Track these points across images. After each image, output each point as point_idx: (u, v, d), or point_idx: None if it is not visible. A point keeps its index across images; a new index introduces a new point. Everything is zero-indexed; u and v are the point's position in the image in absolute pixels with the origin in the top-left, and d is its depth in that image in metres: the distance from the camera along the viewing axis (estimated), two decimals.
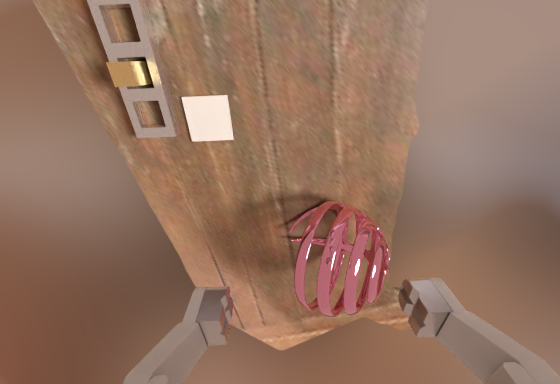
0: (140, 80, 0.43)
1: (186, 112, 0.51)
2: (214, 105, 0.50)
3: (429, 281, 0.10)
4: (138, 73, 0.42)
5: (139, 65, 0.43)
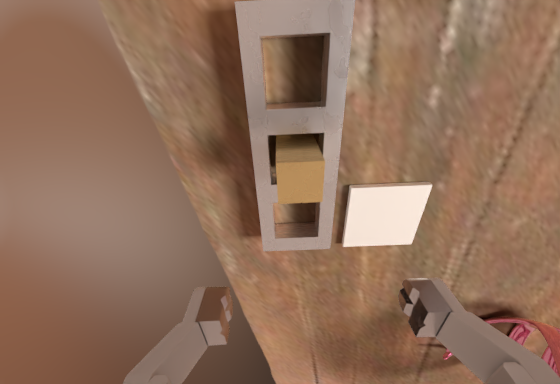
0: None
1: (350, 209, 0.29)
2: (403, 199, 0.29)
3: (429, 280, 0.10)
4: None
5: None
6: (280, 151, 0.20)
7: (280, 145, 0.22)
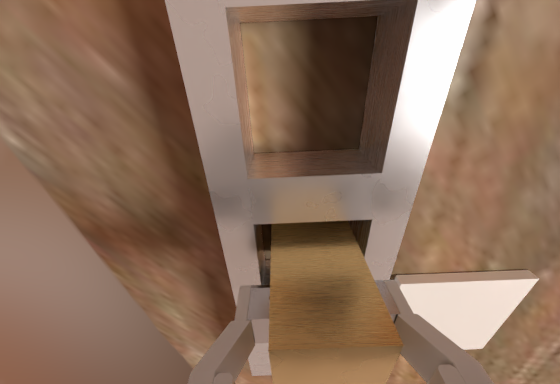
0: None
1: None
2: (485, 297, 0.17)
3: (383, 282, 0.10)
4: None
5: None
6: (280, 278, 0.09)
7: (280, 249, 0.10)
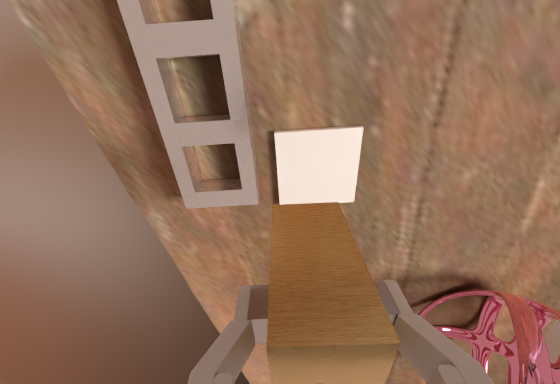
0: None
1: (279, 159, 0.27)
2: (335, 146, 0.26)
3: (383, 282, 0.10)
4: None
5: None
6: (279, 278, 0.09)
7: (280, 249, 0.10)
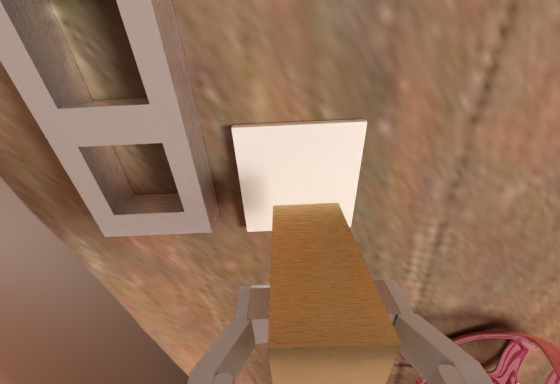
0: None
1: (241, 167, 0.18)
2: (324, 149, 0.17)
3: (383, 282, 0.10)
4: None
5: None
6: (280, 279, 0.09)
7: (280, 250, 0.10)
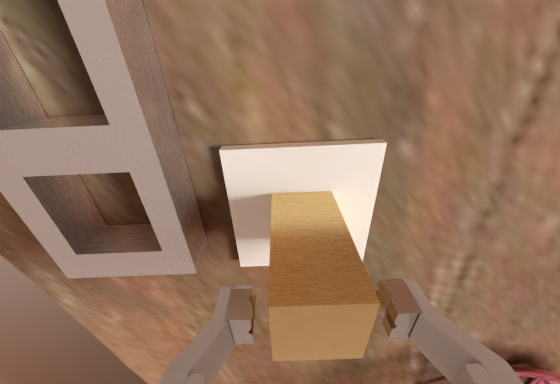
0: None
1: (232, 196, 0.15)
2: (333, 175, 0.14)
3: (403, 282, 0.10)
4: None
5: None
6: (278, 254, 0.10)
7: (279, 230, 0.12)
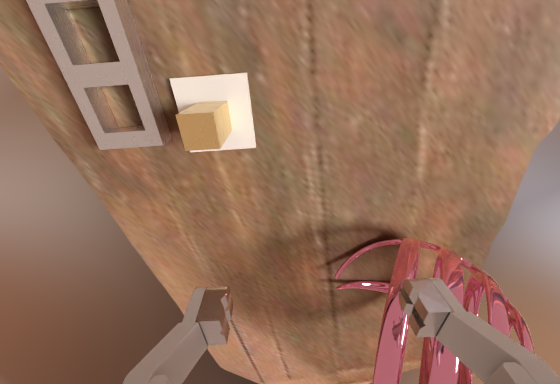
0: (222, 136, 0.27)
1: (179, 105, 0.31)
2: (225, 91, 0.30)
3: (429, 281, 0.10)
4: (220, 127, 0.26)
5: (221, 112, 0.27)
6: (187, 109, 0.26)
7: (192, 107, 0.27)
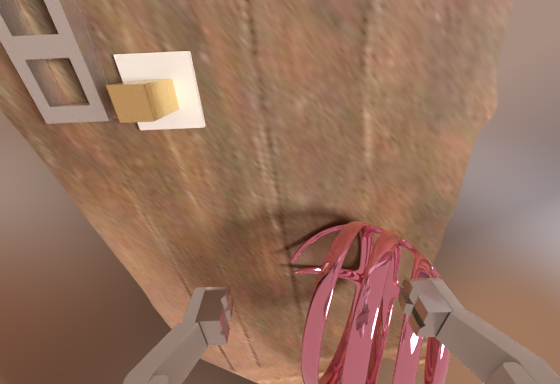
0: (159, 110, 0.28)
1: (125, 81, 0.31)
2: (169, 69, 0.31)
3: (430, 281, 0.10)
4: (156, 101, 0.27)
5: (158, 87, 0.27)
6: None
7: None
